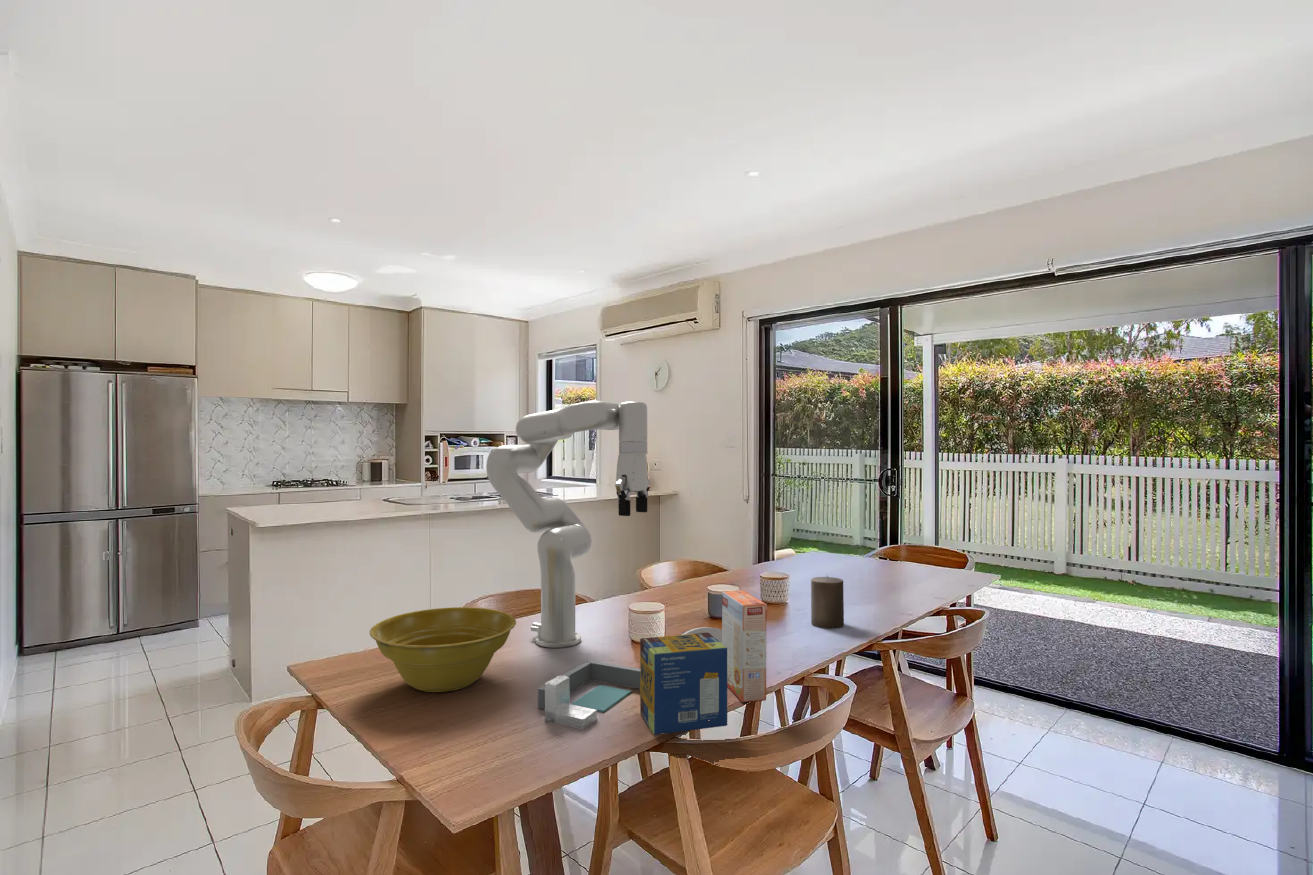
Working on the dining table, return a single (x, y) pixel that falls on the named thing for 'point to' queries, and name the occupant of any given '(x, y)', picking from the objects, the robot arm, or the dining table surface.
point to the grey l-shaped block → (565, 705)
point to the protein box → (683, 682)
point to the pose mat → (601, 698)
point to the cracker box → (745, 644)
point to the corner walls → (597, 677)
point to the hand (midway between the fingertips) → (633, 513)
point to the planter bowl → (443, 645)
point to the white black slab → (713, 631)
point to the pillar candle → (827, 602)
